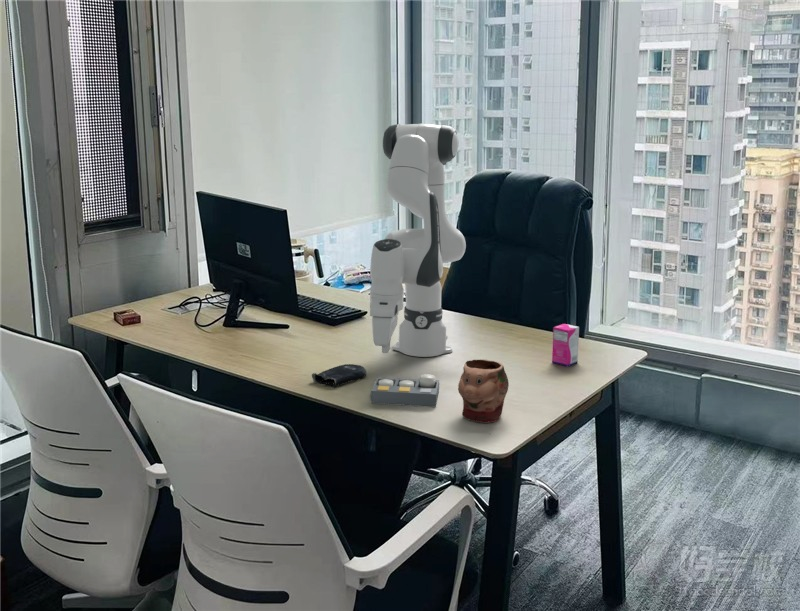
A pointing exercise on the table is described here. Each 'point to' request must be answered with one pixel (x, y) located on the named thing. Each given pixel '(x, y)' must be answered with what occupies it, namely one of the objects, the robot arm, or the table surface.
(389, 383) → the end button
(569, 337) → the supplement box
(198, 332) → the table surface
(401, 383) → the middle button
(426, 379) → the button
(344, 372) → the electronic device
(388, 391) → the button panel
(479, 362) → the character mug
